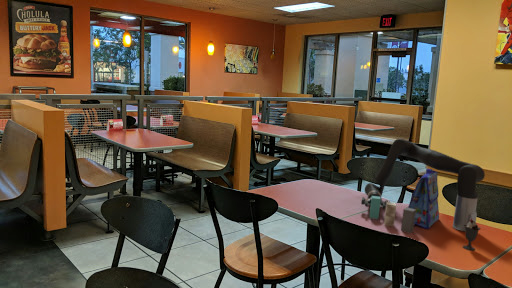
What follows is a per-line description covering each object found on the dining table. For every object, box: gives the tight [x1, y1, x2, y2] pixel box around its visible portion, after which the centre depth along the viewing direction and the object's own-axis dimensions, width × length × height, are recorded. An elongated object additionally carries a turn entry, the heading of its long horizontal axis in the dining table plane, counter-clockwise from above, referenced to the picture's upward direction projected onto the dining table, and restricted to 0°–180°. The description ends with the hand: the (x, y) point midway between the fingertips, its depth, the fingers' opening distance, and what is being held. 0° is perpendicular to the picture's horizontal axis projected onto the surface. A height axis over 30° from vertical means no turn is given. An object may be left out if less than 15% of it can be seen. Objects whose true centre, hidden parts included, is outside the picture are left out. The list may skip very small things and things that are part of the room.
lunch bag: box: [408, 168, 440, 230], centre depth 215 cm, size 22×14×29 cm, turn 143°
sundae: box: [462, 215, 481, 251], centre depth 183 cm, size 7×7×15 cm
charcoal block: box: [400, 207, 416, 234], centre depth 201 cm, size 4×4×11 cm
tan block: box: [383, 201, 397, 227], centre depth 208 cm, size 4×4×11 cm
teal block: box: [369, 196, 382, 220], centre depth 218 cm, size 4×4×11 cm
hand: (375, 206), depth 216 cm, fingers open, 8 cm apart
